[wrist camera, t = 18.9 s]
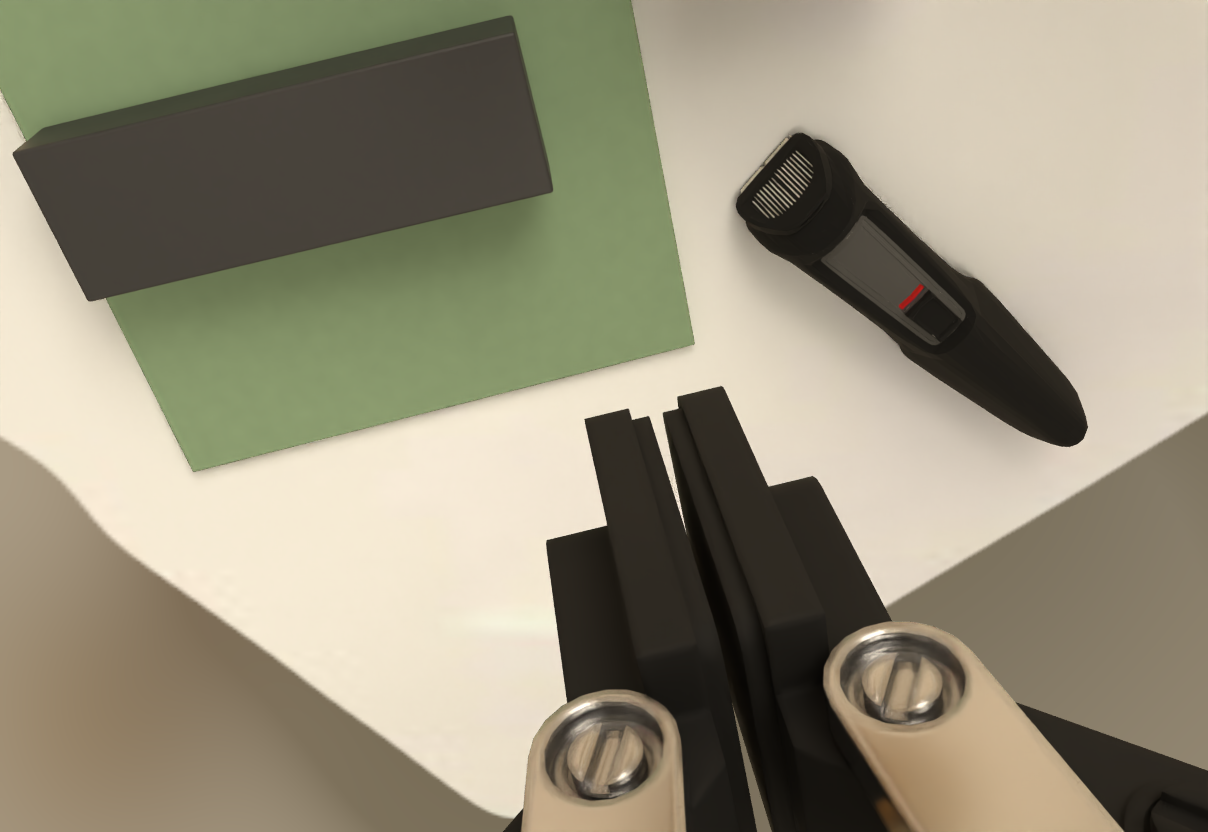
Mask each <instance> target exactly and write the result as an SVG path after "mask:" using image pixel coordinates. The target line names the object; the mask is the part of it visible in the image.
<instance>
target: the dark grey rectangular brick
mask: <svg viewBox="0 0 1208 832" xmlns="http://www.w3.org/2000/svg"><path fill="white" fill-rule="evenodd" d="M13 157H14V159H15V161H16V162H17V164H18V166H19V168H20V170H21V172H22V174H23V176H24V178H25V180H26V182H27V184H28V186H29V188H30V190H31V192H32V194H33V195H34V197H35V199H36V201H37V203H38V205H39V207H40V209H41V211H42V213H43V215H44V217H45V219H46V221H47V223H48V225H49V227H50V228H51V230H52V232H53V234H54V236H55V238H56V240H57V242H58V244H59V246H60V248H61V250H62V252H63V254H64V256H65V258H66V260H67V261H68V263H69V265H70V267H71V269H72V271H73V273H74V275H75V277H76V279H77V281H78V283H79V285H80V287H81V289H82V291H83V292H84V294H85V296H86V298H87V300H88V301H90V302H91V301H96V300H100V299H104V298H108V297H113V296H117V295H121V294H125V293H129V292H134V291H138V290H142V289H146V288H151V287H155V286H159V285H163V284H168V283H172V282H176V281H180V280H184V279H189V278H193V277H197V276H201V275H206V274H210V273H214V272H218V271H223V270H227V269H231V268H235V267H239V266H244V265H248V264H252V263H256V262H261V261H265V260H269V259H273V258H278V257H282V256H286V255H290V254H295V253H299V252H303V251H307V250H311V249H316V248H320V247H324V246H328V245H333V244H337V243H341V242H345V241H350V240H354V239H358V238H362V237H366V236H371V235H375V234H379V233H383V232H388V231H392V230H396V229H400V228H405V227H409V226H413V225H417V224H421V223H426V222H430V221H434V220H438V219H443V218H447V217H451V216H455V215H460V214H464V213H468V212H472V211H476V210H481V209H485V208H489V207H493V206H498V205H502V204H506V203H510V202H515V201H519V200H523V199H527V198H531V197H536V196H540V195H544V194H548V193H551V192H553V184H552V178H551V172H550V166H549V161H548V157H547V153H546V149H545V145H544V141H543V137H542V132H541V128H540V124H539V120H538V116H537V112H536V108H535V104H534V100H533V96H532V91H531V87H530V83H529V79H528V75H527V71H526V67H525V63H524V59H523V55H522V50H521V46H520V42H519V38H518V34H517V30H516V26H515V22H514V18H513V16H510V15H509V16H504V17H500V18H496V19H492V20H488V21H484V22H479V23H475V24H471V25H467V26H463V27H459V28H455V29H450V30H446V31H442V32H438V33H434V34H430V35H426V36H421V37H417V38H413V39H409V40H405V41H401V42H397V43H392V44H388V45H384V46H380V47H376V48H372V49H367V50H363V51H359V52H355V53H351V54H347V55H343V56H338V57H334V58H330V59H326V60H322V61H318V62H314V63H309V64H305V65H301V66H297V67H293V68H289V69H285V70H280V71H276V72H272V73H268V74H264V75H260V76H255V77H251V78H247V79H243V80H239V81H235V82H231V83H226V84H222V85H218V86H214V87H210V88H206V89H202V90H197V91H193V92H189V93H185V94H181V95H177V96H173V97H168V98H164V99H160V100H156V101H152V102H148V103H143V104H139V105H135V106H131V107H127V108H123V109H119V110H114V111H110V112H106V113H102V114H98V115H94V116H90V117H85V118H81V119H77V120H73V121H69V122H65V123H61V124H56V125H52V126H48V127H44V128H42V129H41V130H40V131H39V132H37V133H36V134H35V135H34V136H32V137H31V138H30V139H29V140H28V141H26V142H25V143H24V144H23V145H22V146H20V147H19V148H18V149H17V150H16V151H14V152H13Z"/></svg>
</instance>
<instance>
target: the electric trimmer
mask: <svg viewBox="0 0 1208 832" xmlns="http://www.w3.org/2000/svg"><path fill="white" fill-rule="evenodd" d="M789 136H790V139H789V138H786V137H785V138H786V139H784V141H785V142H784V141H782V142H783V143H781V145H779V146H780V147H779V146H778V149H776V150H775V153H774V152H773V154H772V153H771V154H772V156H770V157H768V158H769V159H767V161H765V163H764V164H765V166H764V167H763V166H760V167H761V168H759V170H757V171H758V172H757V171H756V174H755V173H754V174H755V175H753V177H751V179H750V178H749V179H750V181H748V182H746V183H747V185H746V184H745V186H744V185H743V186H744V188H742V189H740V191H741V194H740V196H739V197H738V199H737V203H736V208H737V211H738V213H739V215H740V216H741V217H742V218H743V219H744V220H745V221H746V225H747V227H748V229H749V231H750V232H751V233H752V234H753V235H754V236H755V238H756V239H757V240H758V241H759V242H760V243H761V244H762V245H763V246H764V247H765V248H767V249H768V250H769V251H770V252H772V253H774V254H776V255H778V256H780V257H782V258H783V259H785V260H787V261H789V262H791V263H793V264H794V265H795V266H797V267H798V268H800V269H801V270H802V271H804V272H805V273H806V274H808V275H809V276H811V277H812V278H813V279H815V280H816V281H818V282H819V283H820V284H822V285H823V286H825V287H826V288H827V289H829V290H830V291H831V292H833V293H834V294H836V295H837V296H838V297H840V298H841V299H843V300H844V301H845V302H847V303H848V304H849V305H851V306H852V307H853V308H855V309H856V310H857V311H859V312H860V313H861V314H863V315H864V316H865V317H867V318H868V319H869V320H871V321H872V322H873V323H875V324H876V325H877V326H879V327H880V328H881V329H883V330H884V331H885V332H886V333H887V334H888V335H889V336H890V337H891V338H892V339H894V340H895V341H896V342H897V343H898V344H899V346H900V348H901V350H902V352H903V354H904V355H905V356H906V357H907V358H909V359H910V360H912V361H913V362H914V363H916V364H917V365H919V366H920V367H922V368H923V369H925V370H926V371H927V372H929V373H930V374H932V375H933V376H935V377H936V378H938V379H939V380H941V381H942V382H944V383H945V384H947V385H948V386H950V387H951V388H953V389H955V390H956V391H958V392H959V393H961V394H962V395H964V396H965V397H967V398H968V399H970V400H971V401H973V402H974V403H976V404H978V405H979V406H981V407H982V408H984V409H985V410H987V411H988V412H990V413H991V414H993V415H994V416H996V417H997V418H999V419H1000V420H1002V421H1004V422H1005V423H1007V424H1009V425H1010V426H1012V427H1014V428H1016V429H1017V430H1019V431H1021V432H1023V433H1025V434H1027V435H1029V436H1031V437H1034V438H1036V439H1039V440H1042V441H1045V442H1047V443H1050V444H1054V445H1058V446H1061V447H1071V446H1073V445H1076V444H1078V443H1079V442H1081V441H1082V440H1083V439H1084V436H1085V434H1086V431H1087V429H1088V425H1087V420H1086V416H1085V413H1084V410H1083V407H1082V405H1081V402H1080V399H1079V397H1078V394H1077V392H1076V390H1075V389H1074V387H1073V386H1072V384H1071V383H1070V381H1069V380H1068V379H1067V378H1066V376H1065V375H1064V374H1063V373H1062V372H1061V371H1060V370H1059V368H1058V367H1057V366H1056V365H1055V364H1054V363H1053V362H1052V360H1051V359H1050V358H1049V357H1048V356H1047V355H1046V354H1045V352H1044V351H1043V350H1042V349H1041V348H1040V347H1039V346H1038V344H1037V343H1036V342H1035V341H1034V340H1033V339H1032V338H1031V336H1030V335H1029V334H1028V333H1027V332H1026V331H1025V330H1024V329H1023V327H1022V326H1021V325H1020V324H1019V323H1018V322H1017V321H1016V319H1015V318H1014V317H1013V316H1012V315H1011V314H1010V313H1009V311H1008V310H1007V309H1006V308H1005V307H1004V306H1003V305H1002V303H1001V302H1000V301H999V300H998V299H997V298H996V297H995V296H994V295H993V294H992V293H991V292H990V291H989V290H988V289H987V288H986V287H985V286H984V285H983V284H982V283H981V282H980V281H979V280H977V279H975V278H971V277H965V276H963V275H962V274H960V273H959V272H957V271H956V270H954V269H952V268H951V267H950V266H949V265H948V264H947V263H946V262H945V261H944V260H942V259H941V258H940V257H939V256H938V255H937V254H936V253H935V252H934V251H933V250H931V249H930V248H929V247H928V246H927V245H926V244H925V243H924V242H923V241H922V240H920V239H919V238H918V237H917V236H916V235H915V234H914V233H913V232H912V231H911V230H910V229H909V228H908V227H907V226H906V225H905V224H904V223H903V222H902V221H900V220H899V219H898V218H897V217H896V216H895V215H894V214H893V213H892V212H891V211H890V210H889V209H888V208H887V207H886V206H885V205H884V204H883V203H882V202H881V201H880V200H879V199H878V198H877V197H876V196H875V195H874V194H873V193H872V192H871V191H870V190H869V189H868V188H867V187H866V186H865V185H864V184H863V182H862V181H861V179H860V177H859V176H858V174H857V173H856V171H855V170H854V168H853V167H852V165H851V164H850V162H849V161H848V159H847V158H846V157H845V156H844V155H843V154H842V153H841V152H839V151H838V150H836V149H835V148H833V147H832V146H830V145H829V144H828V143H826V142H824V141H822V140H813V139H812V138H810V137H809V136H808V135H805V134H803V133H797V134H795V135H793V136H791V135H789Z"/></svg>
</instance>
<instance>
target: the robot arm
mask: <svg viewBox="0 0 1208 832" xmlns="http://www.w3.org/2000/svg"><path fill="white" fill-rule="evenodd" d="M677 400H678V407H679V409H676V410H672V411H668V412H664V413H663V418H664V424H665V429H666V434H667V439H668V444H669V448H670V453H671V458H672V463H673V468H674V473H675V478H676V483H677V488H678V493H679V498H680V503H681V508H682V513H683V518H684V523H685V528H686V531H685V528H684V525H683V521H682V518H681V515H680V512H679V509H678V506H677V503H676V499H675V496H674V493H673V490H672V487H671V484H670V480H669V477H668V474H667V471H666V468H665V465H664V461H663V458H662V455H661V452H660V449H659V446H658V443H657V439H656V436H655V433H654V430H653V427H652V424H651V420H650V418H649V416H647V417H643V418H639V419H635V420H632V418H631V415H630V412H629V409H624V410H620V411H616V412H612V413H608V414H604V415H599V416H595V417H591V418H587V419H585V425H586V429H587V434H588V438H589V443H590V448H591V452H592V457H593V461H594V466H595V471H596V475H597V480H598V484H599V489H600V494H601V498H602V503H603V507H604V512H605V517H606V521H607V526H604V527H600V528H595V529H591V530H587V531H583V532H579V533H575V534H571V535H566V536H562V537H558V538H554V539H550V540H547V542H546V547H547V556H548V563H549V571H550V578H551V586H552V593H553V601H554V608H555V615H556V623H557V630H558V638H559V645H560V653H561V660H562V668H563V675H564V682H565V690H566V697H567V704H565V705H563V706H561V707H560V708H559V709H558V710H557V711H556V712H554V713H553V714H552V715H551V716H550V717H549V718H548V719H546V720H545V722H544V723H543V725H542V726H541V728H540V729H539V731H538V732H537V734H536V735H535V737H534V738H533V742H532V745H531V749H530V753H529V756H528V764H527V775H526V785H525V796H524V807H523V809H522V810H521V811H520V813H519V814H518V815H517V816H516V817H515V818H514V820H513V821H512V822H511V823H510V824H509V825H508V827H507V828H506V829H505V830H504V831H503V832H757V829H756V824H755V819H754V814H753V808H752V803H751V799H750V793H749V788H748V783H747V777H746V772H745V767H744V762H743V757H742V752H741V746H740V741H739V736H738V731H737V727H736V721H735V716H734V710H735V713H736V717H737V720H738V723H739V727H740V730H741V733H742V736H743V740H744V743H745V746H746V749H747V753H748V756H749V759H750V762H751V765H752V768H753V772H754V775H755V778H756V782H757V785H758V788H759V791H760V795H761V798H762V801H763V804H764V808H765V811H766V814H767V817H768V820H769V824H770V827H771V830H772V832H1208V771H1207V770H1204V769H1201V768H1199V767H1196V766H1193V765H1190V764H1187V763H1184V762H1182V761H1179V760H1176V759H1173V758H1171V757H1168V756H1165V755H1162V754H1159V753H1156V752H1154V751H1151V750H1148V749H1145V748H1143V747H1140V746H1137V745H1134V744H1131V743H1128V742H1126V741H1123V740H1120V739H1117V738H1114V737H1112V736H1109V735H1106V734H1103V733H1100V732H1098V731H1095V730H1092V729H1089V728H1086V727H1084V726H1081V725H1078V724H1075V723H1072V722H1070V721H1067V720H1064V719H1061V718H1058V717H1056V716H1052V715H1050V714H1047V713H1044V712H1041V711H1039V710H1036V709H1033V708H1030V707H1027V706H1024V705H1022V704H1019V703H1016V702H1014V700H1013V699H1012V698H1011V697H1010V696H1009V695H1008V693H1007V692H1006V691H1005V690H1004V689H1003V688H1002V686H1001V685H1000V684H999V683H998V682H997V680H996V679H995V678H994V677H993V676H992V675H991V673H990V672H989V671H988V670H987V668H986V667H985V666H984V665H983V664H982V663H981V661H980V660H979V659H978V658H977V657H976V656H975V654H974V653H973V652H972V651H971V650H970V649H969V648H968V647H967V646H966V645H964V644H963V643H962V642H961V641H960V640H959V639H957V638H956V637H955V636H953V635H951V634H949V633H947V632H945V631H943V630H941V629H938V628H936V627H934V626H929V625H925V624H920V623H916V622H911V621H910V622H892V620H891V618H890V616H889V615H888V613H887V611H886V609H885V607H884V605H883V603H882V601H881V599H880V597H879V595H878V594H877V592H876V590H875V588H874V586H873V584H872V582H871V580H870V578H869V576H868V574H867V572H866V571H865V569H864V567H863V565H862V563H861V561H860V559H859V557H858V555H857V553H856V551H855V549H854V548H853V546H852V544H851V542H850V540H849V538H848V536H847V534H846V532H845V530H844V528H843V526H842V525H841V523H840V521H839V519H838V517H837V515H836V513H835V511H834V509H833V507H832V505H831V504H830V502H829V500H828V498H827V496H826V494H825V492H824V490H823V488H822V486H821V485H820V483H819V482H818V480H817V479H816V478H815V477H813V476H811V477H807V478H803V479H799V480H795V481H791V482H786V483H782V484H778V485H774V486H770V487H768V485H767V483H766V481H765V478H764V476H763V474H762V472H761V470H760V467H759V465H758V463H757V461H756V458H755V456H754V454H753V452H752V450H751V447H750V445H749V443H748V441H747V438H746V436H745V434H744V432H743V429H742V427H741V425H740V423H739V421H738V418H737V416H736V414H735V412H734V409H733V407H732V405H731V403H730V401H729V398H728V396H727V394H726V392H725V390H724V388H723V387H722V386H720V387H716V388H712V389H708V390H703V391H699V392H695V393H691V394H687V395H683V396H678V398H677ZM686 533H687V534H686ZM732 704H733V705H732ZM733 707H734V710H733Z"/></svg>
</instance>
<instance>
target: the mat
mask: <svg viewBox="0 0 1208 832" xmlns="http://www.w3.org/2000/svg"><path fill="white" fill-rule="evenodd" d="M509 15H510V16H513V18H514V22H515V26H516V30H517V34H518V38H519V42H520V46H521V50H522V55H523V59H524V63H525V67H526V71H527V75H528V79H529V83H530V87H531V91H532V96H533V100H534V104H535V108H536V112H537V116H538V120H539V124H540V128H541V132H542V137H543V141H544V145H545V149H546V153H547V157H548V161H549V166H550V172H551V178H552V184H553V192H551V193H548V194H544V195H540V196H536V197H531V198H527V199H523V200H519V201H515V202H510V203H506V204H502V205H498V206H493V207H489V208H485V209H481V210H476V211H472V212H468V213H464V214H460V215H455V216H451V217H447V218H443V219H438V220H434V221H430V222H426V223H421V224H417V225H413V226H409V227H405V228H400V229H396V230H392V231H388V232H383V233H379V234H375V235H371V236H366V237H362V238H358V239H354V240H350V241H345V242H341V243H337V244H333V245H328V246H324V247H320V248H316V249H311V250H307V251H303V252H299V253H295V254H290V255H286V256H282V257H278V258H273V259H269V260H265V261H261V262H256V263H252V264H248V265H244V266H239V267H235V268H231V269H227V270H223V271H218V272H214V273H210V274H206V275H201V276H197V277H193V278H189V279H184V280H180V281H176V282H172V283H168V284H163V285H159V286H155V287H151V288H146V289H142V290H138V291H134V292H129V293H125V294H121V295H117V296H113V297H108V298H106V300H107V302H108V304H109V306H110V308H111V310H112V312H113V314H114V316H115V318H116V320H117V322H118V324H119V326H120V328H121V330H122V332H123V334H124V336H125V338H126V340H127V342H128V344H129V346H130V348H131V350H132V351H133V353H134V355H135V357H136V359H137V361H138V363H139V365H140V367H141V369H142V371H143V373H144V375H145V377H146V379H147V381H148V383H149V385H150V387H151V389H152V391H153V393H154V395H155V397H156V399H157V401H158V403H159V405H160V407H161V409H162V411H163V413H164V415H165V417H166V419H167V421H168V423H169V425H170V427H171V429H172V431H173V433H174V435H175V437H176V439H177V441H178V443H179V445H180V447H181V449H182V451H183V453H184V455H185V457H186V459H187V461H188V463H189V465H190V467H191V469H192V471H193V472H195V471H199V470H203V469H207V468H211V467H215V466H219V465H223V464H227V463H231V462H235V461H239V460H243V459H247V458H250V457H254V456H258V455H262V454H266V453H270V452H274V451H278V450H282V449H286V448H290V447H294V446H298V445H301V444H305V443H309V442H313V441H317V440H321V439H325V438H329V437H333V436H337V435H341V434H345V433H349V432H353V431H356V430H360V429H364V428H368V427H372V426H376V425H380V424H384V423H388V422H392V421H396V420H400V419H404V418H408V417H411V416H415V415H419V414H423V413H427V412H431V411H435V410H439V409H443V408H447V407H451V406H455V405H459V404H462V403H466V402H470V401H474V400H478V399H482V398H486V397H490V396H494V395H498V394H502V393H506V392H510V391H514V390H517V389H521V388H525V387H529V386H533V385H537V384H541V383H545V382H549V381H553V380H557V379H561V378H565V377H569V376H572V375H576V374H580V373H584V372H588V371H592V370H596V369H600V368H604V367H608V366H612V365H616V364H620V363H624V362H627V361H631V360H635V359H639V358H643V357H647V356H651V355H655V354H659V353H663V352H667V351H671V350H675V349H678V348H682V347H686V346H690V345H694V344H695V342H694V337H693V332H692V326H691V321H690V315H689V310H688V305H687V299H686V294H685V289H684V283H683V278H682V272H681V267H680V262H679V256H678V251H677V246H676V240H675V235H674V229H673V224H672V219H671V213H670V208H669V202H668V197H667V192H666V186H665V181H664V176H663V170H662V165H661V159H660V154H659V149H658V143H657V138H656V133H655V127H654V122H653V116H652V111H651V106H650V100H649V95H648V90H647V84H646V79H645V73H644V68H643V63H642V57H641V52H640V46H639V41H638V36H637V30H636V25H635V20H634V14H633V9H632V3H631V0H0V90H1V92H2V94H3V96H4V98H5V100H6V102H7V104H8V105H9V107H10V109H11V111H12V113H13V115H14V117H15V119H16V121H17V123H18V125H19V127H20V129H21V131H22V133H23V135H24V137H25V139H26V141H28V140H29V139H30V138H31V137H32V136H34V135H35V134H36V133H37V132H39V131H40V130H41V129H42V128H44V127H48V126H52V125H56V124H61V123H65V122H69V121H73V120H77V119H81V118H85V117H90V116H94V115H98V114H102V113H106V112H110V111H114V110H119V109H123V108H127V107H131V106H135V105H139V104H143V103H148V102H152V101H156V100H160V99H164V98H168V97H173V96H177V95H181V94H185V93H189V92H193V91H197V90H202V89H206V88H210V87H214V86H218V85H222V84H226V83H231V82H235V81H239V80H243V79H247V78H251V77H255V76H260V75H264V74H268V73H272V72H276V71H280V70H285V69H289V68H293V67H297V66H301V65H305V64H309V63H314V62H318V61H322V60H326V59H330V58H334V57H338V56H343V55H347V54H351V53H355V52H359V51H363V50H367V49H372V48H376V47H380V46H384V45H388V44H392V43H397V42H401V41H405V40H409V39H413V38H417V37H421V36H426V35H430V34H434V33H438V32H442V31H446V30H450V29H455V28H459V27H463V26H467V25H471V24H475V23H479V22H484V21H488V20H492V19H496V18H500V17H504V16H509Z"/></svg>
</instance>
